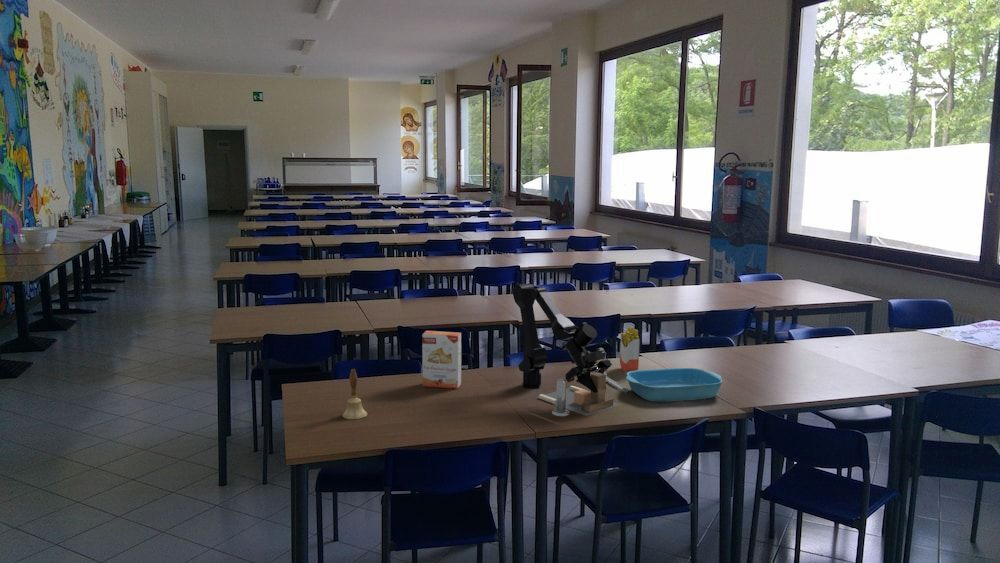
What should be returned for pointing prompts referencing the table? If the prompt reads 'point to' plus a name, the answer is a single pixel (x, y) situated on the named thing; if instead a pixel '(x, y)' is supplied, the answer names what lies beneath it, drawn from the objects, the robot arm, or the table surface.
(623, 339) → the french fries container
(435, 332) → the cracker box
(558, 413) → the grey metal stick
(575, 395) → the terracotta block
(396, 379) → the table surface
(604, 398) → the wooden block on base
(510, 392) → the table surface
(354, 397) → the hand bell
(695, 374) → the casserole dish
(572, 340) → the robot arm
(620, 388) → the adjustable wrench
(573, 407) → the mat
